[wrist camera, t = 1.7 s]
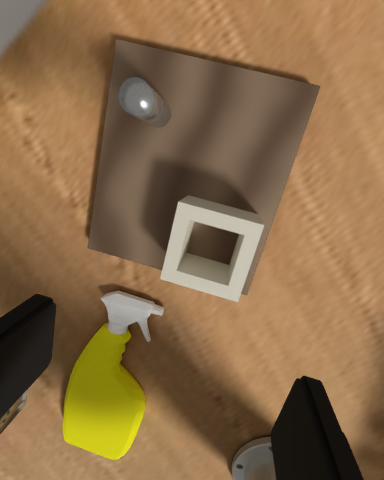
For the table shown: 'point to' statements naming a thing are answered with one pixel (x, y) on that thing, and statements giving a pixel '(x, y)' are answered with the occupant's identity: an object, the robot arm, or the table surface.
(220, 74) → the board
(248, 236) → the collar
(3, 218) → the table surface
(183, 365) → the table surface
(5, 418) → the coffee box
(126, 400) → the spray bottle
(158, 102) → the post
